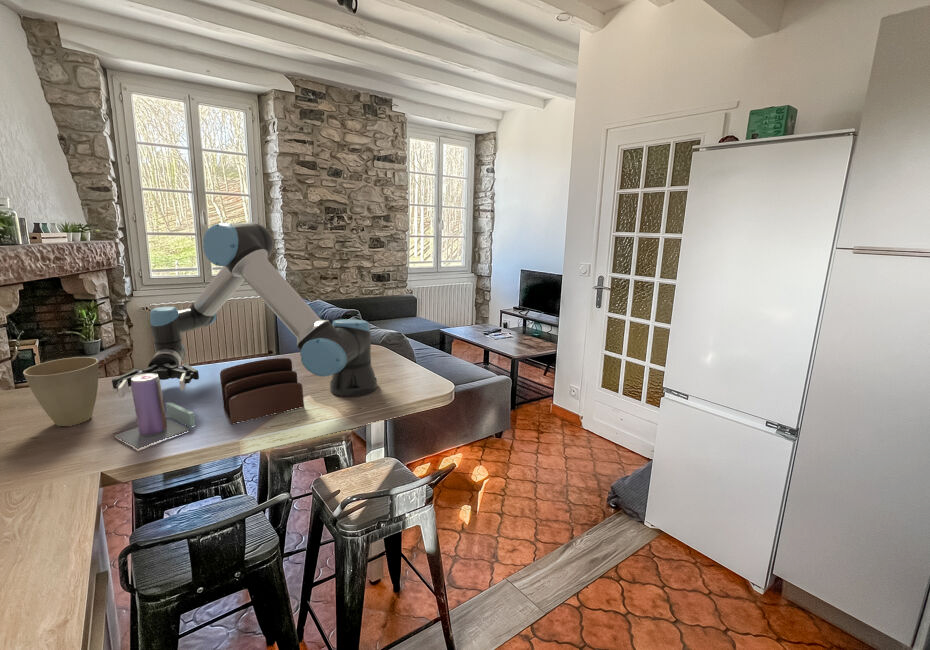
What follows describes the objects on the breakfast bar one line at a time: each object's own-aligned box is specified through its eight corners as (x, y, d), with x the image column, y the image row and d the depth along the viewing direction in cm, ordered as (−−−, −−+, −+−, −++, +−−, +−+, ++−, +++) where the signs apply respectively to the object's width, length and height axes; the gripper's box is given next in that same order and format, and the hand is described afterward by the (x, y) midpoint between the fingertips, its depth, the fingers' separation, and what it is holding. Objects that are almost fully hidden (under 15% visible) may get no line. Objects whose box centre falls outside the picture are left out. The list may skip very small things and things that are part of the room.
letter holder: (224, 412, 130) (218, 366, 127) (294, 397, 142) (290, 354, 138) (231, 425, 122) (225, 376, 119) (304, 407, 134) (301, 363, 131)
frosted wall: (195, 426, 121) (193, 412, 120) (191, 427, 120) (189, 414, 119) (172, 415, 127) (170, 402, 126) (167, 416, 126) (165, 403, 125)
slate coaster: (189, 431, 118) (189, 429, 118) (137, 451, 108) (137, 448, 108) (166, 420, 124) (165, 417, 124) (115, 437, 114) (114, 435, 114)
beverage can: (154, 438, 113) (145, 382, 109) (133, 436, 114) (123, 380, 110) (172, 427, 118) (164, 373, 115) (152, 425, 119) (143, 372, 116)
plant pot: (100, 404, 133) (90, 353, 129) (114, 419, 124) (104, 365, 120) (31, 421, 122) (18, 366, 118) (42, 439, 113) (28, 379, 109)
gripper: (212, 371, 144) (207, 395, 125) (117, 381, 134) (95, 409, 115) (209, 348, 142) (203, 369, 123) (112, 357, 132) (90, 382, 113)
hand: (151, 389), depth 119 cm, fingers open, 13 cm apart
